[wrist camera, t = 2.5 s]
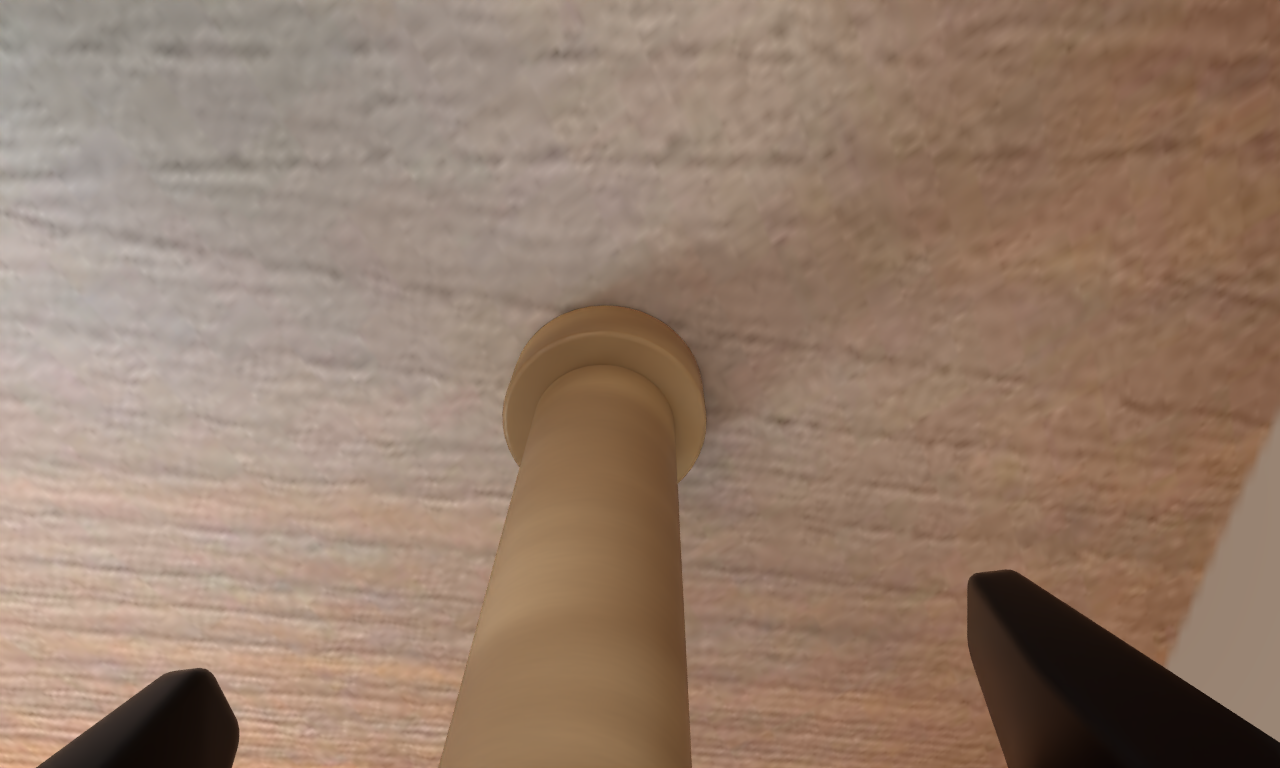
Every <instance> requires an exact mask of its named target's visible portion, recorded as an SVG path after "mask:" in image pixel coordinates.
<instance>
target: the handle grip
mask: <svg viewBox="0 0 1280 768" xmlns="http://www.w3.org/2000/svg"><path fill="white" fill-rule="evenodd" d="M502 416H503V429H504V434H505V439H506V442H507V445H508V447H509V450H510V452H511V454H512V456H513V458H514V460H515V461H516V463H517V464H518V466H519V467H520V468H519V472H518V476H517V479H516V483H515V487H514V491H513V494H512V498H511V502H510V505H509V509H508V513H507V516H506V520H505V524H504V527H503V531H502V535H501V539H500V542H499V546H498V550H497V553H496V557H495V561H494V564H493V568H492V572H491V576H490V579H489V583H488V587H487V590H486V594H485V598H484V601H483V605H482V609H481V612H480V616H479V620H478V624H477V627H476V631H475V635H474V638H473V642H472V646H471V649H470V653H469V657H468V661H467V664H466V668H465V672H464V675H463V679H462V683H461V686H460V690H459V694H458V697H457V701H456V705H455V709H454V712H453V716H452V720H451V723H450V727H449V731H448V734H447V738H446V742H445V746H444V749H443V753H442V757H441V760H440V764H439V768H692V759H691V739H690V720H689V700H688V680H687V660H686V640H685V620H684V601H683V581H682V561H681V541H680V521H679V501H678V483H679V482H680V481H681V480H682V479H683V478H684V477H685V476H686V474H687V473H688V472H689V471H690V469H691V468H692V467H693V465H694V463H695V462H696V460H697V458H698V456H699V454H700V451H701V449H702V446H703V443H704V438H705V434H706V409H705V401H704V393H703V385H702V379H701V374H700V370H699V367H698V365H697V362H696V360H695V358H694V356H693V354H692V352H691V351H690V349H689V347H688V346H687V345H686V344H685V342H684V341H683V340H682V338H681V337H680V336H679V335H678V334H677V333H676V332H675V331H674V330H672V329H671V328H670V327H668V326H667V325H666V324H664V323H663V322H661V321H660V320H658V319H656V318H654V317H653V316H650V315H648V314H646V313H643V312H641V311H638V310H634V309H631V308H626V307H620V306H606V305H601V306H590V307H585V308H580V309H576V310H573V311H571V312H568V313H565V314H563V315H561V316H559V317H557V318H555V319H553V320H552V321H550V322H549V323H547V324H546V325H544V326H543V327H542V328H541V329H540V330H539V331H538V332H537V333H535V334H534V336H533V337H532V338H531V339H530V340H529V342H528V343H527V344H526V346H525V347H524V349H523V351H522V352H521V354H520V357H519V359H518V361H517V364H516V366H515V369H514V372H513V375H512V378H511V381H510V383H509V386H508V389H507V392H506V396H505V400H504V404H503V414H502Z"/></svg>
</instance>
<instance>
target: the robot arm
mask: <svg viewBox="0 0 1280 768" xmlns="http://www.w3.org/2000/svg"><path fill="white" fill-rule="evenodd" d="M967 639H968V647H969V652H970V656H971V660H972V663H973V666H974V669H975V672H976V675H977V678H978V681H979V683H980V686H981V689H982V692H983V695H984V698H985V701H986V704H987V707H988V710H989V713H990V716H991V719H992V721H993V724H994V727H995V730H996V733H997V736H998V739H999V742H1000V745H1001V748H1002V751H1003V754H1004V756H1005V759H1006V762H1007V765H1008V768H1280V742H1278V741H1276V740H1275V739H1273V738H1272V737H1270V736H1269V735H1267V734H1266V733H1264V732H1263V731H1261V730H1260V729H1258V728H1256V727H1255V726H1253V725H1252V724H1250V723H1249V722H1247V721H1246V720H1244V719H1243V718H1241V717H1240V716H1238V715H1236V714H1235V713H1233V712H1232V711H1230V710H1229V709H1227V708H1226V707H1224V706H1223V705H1221V704H1220V703H1218V702H1216V701H1215V700H1213V699H1212V698H1210V697H1209V696H1207V695H1206V694H1204V693H1203V692H1201V691H1200V690H1198V689H1196V688H1195V687H1193V686H1192V685H1190V684H1189V683H1187V682H1186V681H1184V680H1182V679H1181V678H1179V677H1178V676H1176V675H1175V674H1173V673H1172V672H1170V671H1169V670H1167V669H1166V668H1164V667H1163V666H1161V665H1159V664H1158V663H1156V662H1155V661H1153V660H1152V659H1150V658H1149V657H1147V656H1146V655H1144V654H1143V653H1141V652H1139V651H1138V650H1136V649H1135V648H1133V647H1132V646H1130V645H1129V644H1127V643H1126V642H1124V641H1123V640H1121V639H1119V638H1118V637H1116V636H1115V635H1113V634H1112V633H1110V632H1109V631H1107V630H1106V629H1104V628H1103V627H1101V626H1099V625H1098V624H1096V623H1095V622H1093V621H1092V620H1090V619H1089V618H1087V617H1086V616H1084V615H1083V614H1081V613H1079V612H1078V611H1076V610H1075V609H1073V608H1072V607H1070V606H1069V605H1067V604H1066V603H1064V602H1062V601H1061V600H1059V599H1058V598H1056V597H1055V596H1053V595H1052V594H1050V593H1049V592H1047V591H1046V590H1044V589H1042V588H1041V587H1039V586H1038V585H1036V584H1035V583H1033V582H1032V581H1030V580H1029V579H1027V578H1026V577H1024V576H1022V575H1021V574H1019V573H1017V572H1015V571H1013V570H998V571H990V572H981V573H975V574H973V575H972V576H971V577H970V578H969V581H968V587H967ZM238 743H239V726H238V722H237V719H236V717H235V715H234V713H233V711H232V709H231V707H230V705H229V703H228V702H227V700H226V698H225V696H224V694H223V692H222V690H221V688H220V686H219V684H218V682H217V680H216V678H215V677H214V675H213V674H212V673H211V672H209V671H208V670H207V669H202V668H195V669H187V670H178V671H172V672H168V673H166V674H164V675H162V676H161V677H159V678H158V679H156V680H155V681H154V682H152V683H151V684H150V685H148V686H147V687H145V688H144V689H143V690H141V691H140V692H139V693H137V694H136V695H135V696H133V697H132V698H130V699H129V700H128V701H126V702H125V703H124V704H122V705H121V706H120V707H118V708H117V709H115V710H114V711H113V712H111V713H110V714H109V715H107V716H106V717H105V718H103V719H102V720H100V721H99V722H98V723H96V724H95V725H94V726H92V727H91V728H90V729H88V730H87V731H85V732H84V733H83V734H81V735H80V736H79V737H77V738H76V739H75V740H73V741H72V742H70V743H69V744H68V745H66V746H65V747H64V748H62V749H61V750H60V751H58V752H57V753H55V754H54V755H53V756H51V757H50V758H49V759H47V760H46V761H45V762H43V763H42V764H40V765H39V766H38V767H36V768H232V765H233V762H234V758H235V755H236V751H237V748H238Z"/></svg>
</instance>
